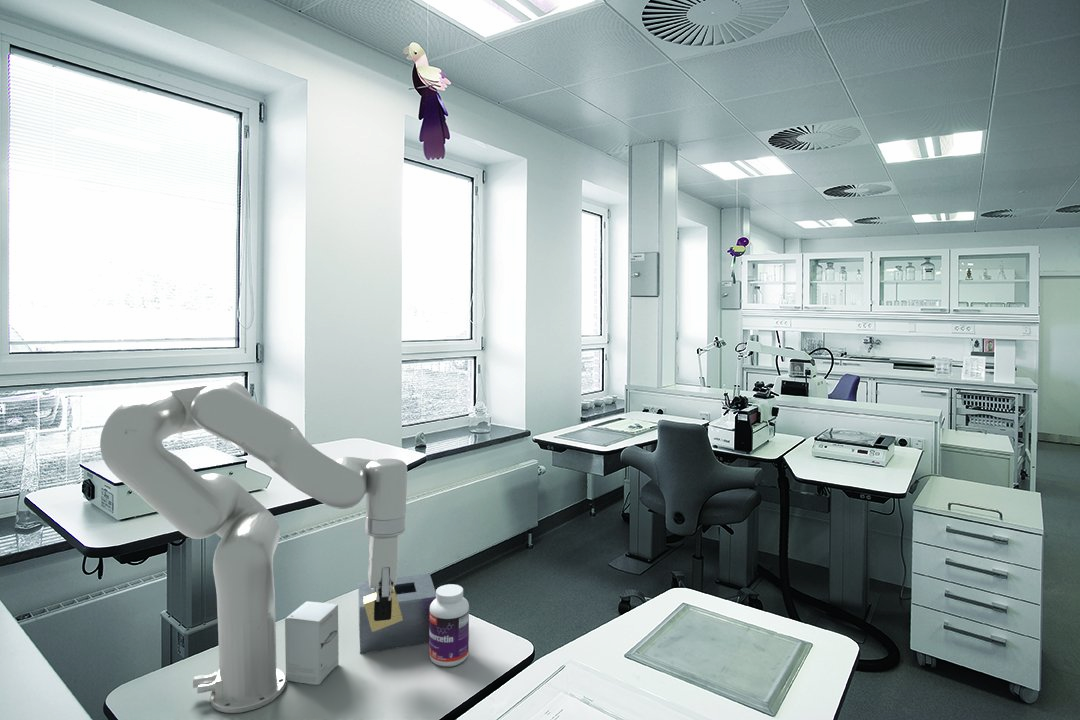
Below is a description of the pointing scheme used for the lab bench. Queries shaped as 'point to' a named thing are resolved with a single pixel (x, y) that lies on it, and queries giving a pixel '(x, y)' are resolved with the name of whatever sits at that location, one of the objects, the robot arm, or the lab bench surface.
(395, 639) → the grey slotted box
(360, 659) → the lab bench surface
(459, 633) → the pill bottle
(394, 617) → the yellow wooden block
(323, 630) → the supplement box
